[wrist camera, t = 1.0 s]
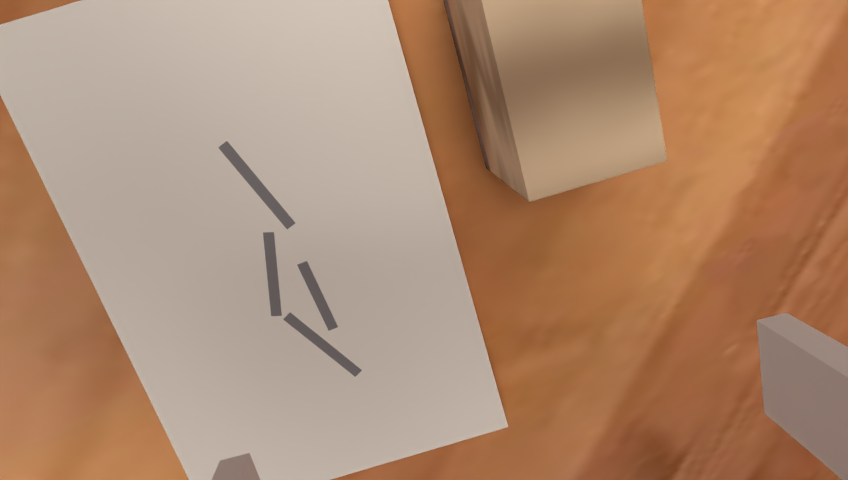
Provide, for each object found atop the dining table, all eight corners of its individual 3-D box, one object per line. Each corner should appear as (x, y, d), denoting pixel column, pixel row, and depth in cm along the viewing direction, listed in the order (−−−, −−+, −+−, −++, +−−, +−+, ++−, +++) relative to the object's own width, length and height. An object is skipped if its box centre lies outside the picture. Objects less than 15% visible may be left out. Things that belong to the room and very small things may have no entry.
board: (-3, 37, 29) (-30, 33, 27) (365, -74, 29) (364, -85, 27) (215, 493, 37) (206, 516, 35) (501, 409, 37) (508, 427, 35)
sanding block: (441, -10, 30) (468, -54, 20) (547, -42, 30) (625, -101, 20) (485, 167, 33) (529, 201, 23) (583, 138, 33) (667, 161, 23)
